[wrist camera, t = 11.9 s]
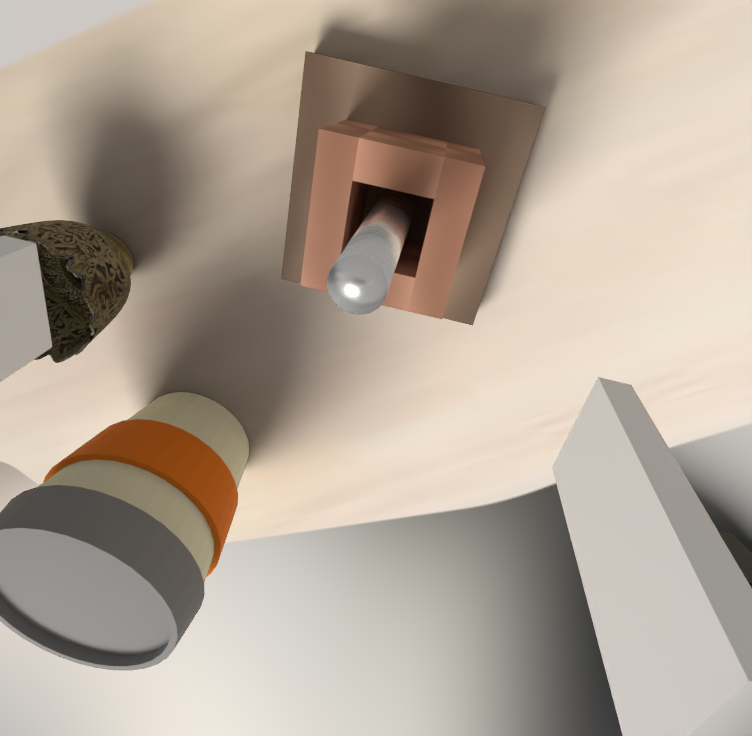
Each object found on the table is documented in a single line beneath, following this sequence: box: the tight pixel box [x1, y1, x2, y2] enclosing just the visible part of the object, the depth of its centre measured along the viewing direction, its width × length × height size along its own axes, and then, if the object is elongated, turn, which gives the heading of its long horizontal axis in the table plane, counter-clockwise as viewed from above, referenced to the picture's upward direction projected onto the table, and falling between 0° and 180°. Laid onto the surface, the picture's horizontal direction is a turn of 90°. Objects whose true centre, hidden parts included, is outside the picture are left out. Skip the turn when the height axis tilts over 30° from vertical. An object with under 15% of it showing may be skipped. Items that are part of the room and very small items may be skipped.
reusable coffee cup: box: [0, 392, 249, 670], centre depth 34 cm, size 13×13×15 cm
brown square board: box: [282, 51, 545, 325], centre depth 28 cm, size 12×12×2 cm
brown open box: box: [300, 119, 485, 319], centre depth 25 cm, size 7×7×6 cm
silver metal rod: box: [327, 188, 416, 314], centre depth 22 cm, size 2×2×13 cm
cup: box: [0, 220, 133, 363], centre depth 30 cm, size 8×7×8 cm
